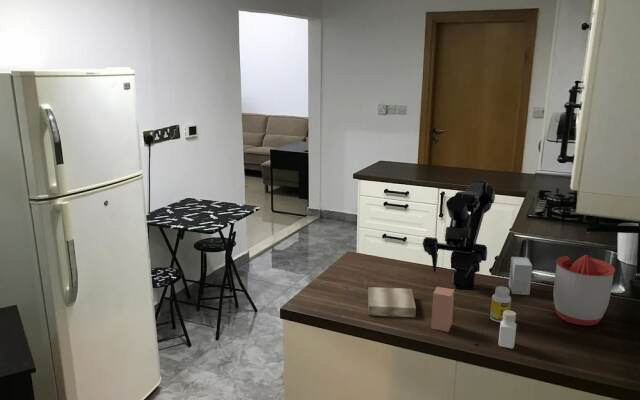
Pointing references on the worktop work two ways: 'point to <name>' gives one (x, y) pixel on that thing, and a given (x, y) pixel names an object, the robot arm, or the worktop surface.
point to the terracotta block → (442, 309)
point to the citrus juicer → (582, 289)
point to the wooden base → (391, 302)
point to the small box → (520, 275)
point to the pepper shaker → (507, 329)
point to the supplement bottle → (500, 303)
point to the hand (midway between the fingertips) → (449, 274)
